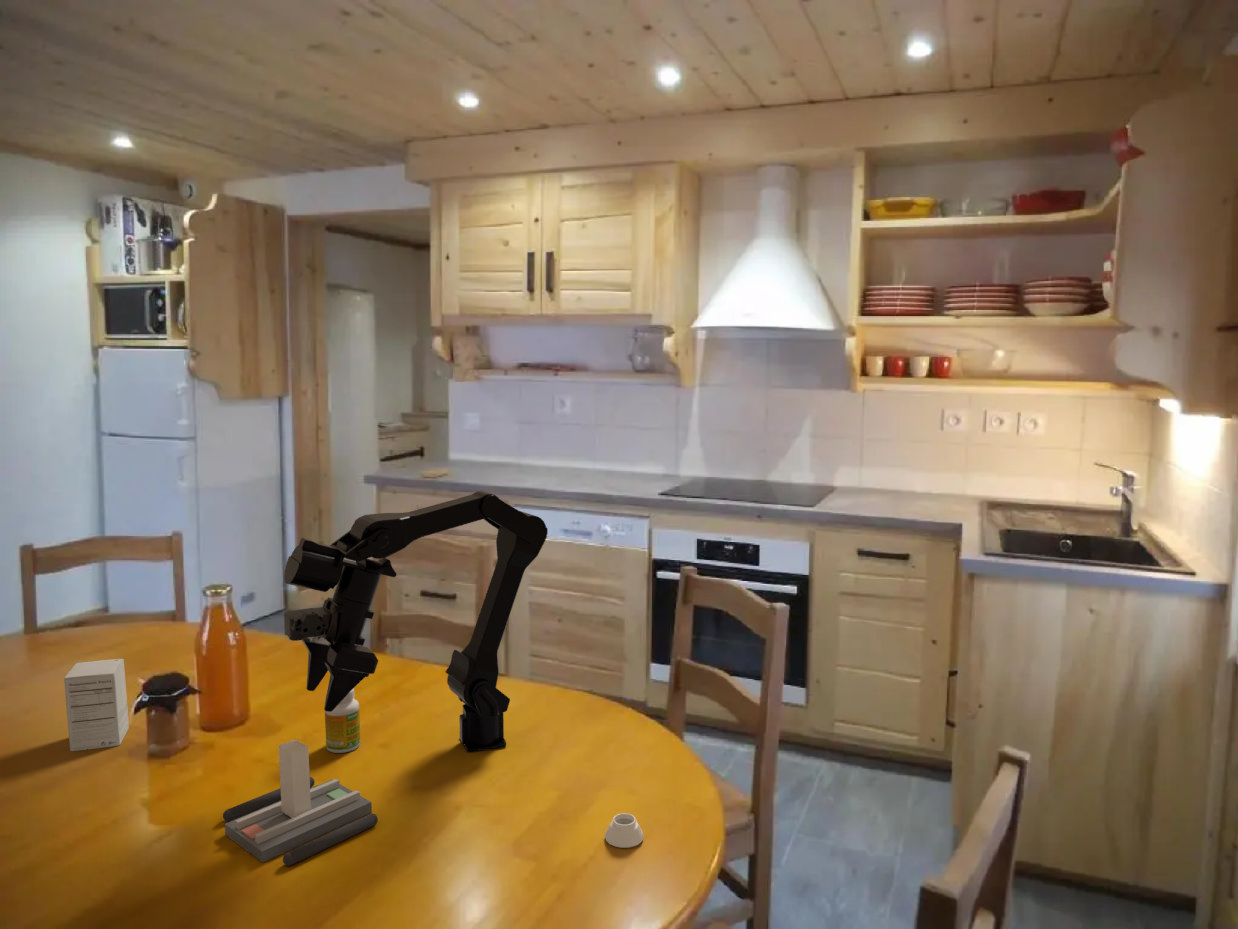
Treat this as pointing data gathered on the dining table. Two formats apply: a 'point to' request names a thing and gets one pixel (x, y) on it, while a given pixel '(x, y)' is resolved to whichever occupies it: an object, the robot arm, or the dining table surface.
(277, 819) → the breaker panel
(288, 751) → the handle
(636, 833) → the lidless jar
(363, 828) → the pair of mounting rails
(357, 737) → the supplement bottle
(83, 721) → the supplement box
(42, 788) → the dining table surface
